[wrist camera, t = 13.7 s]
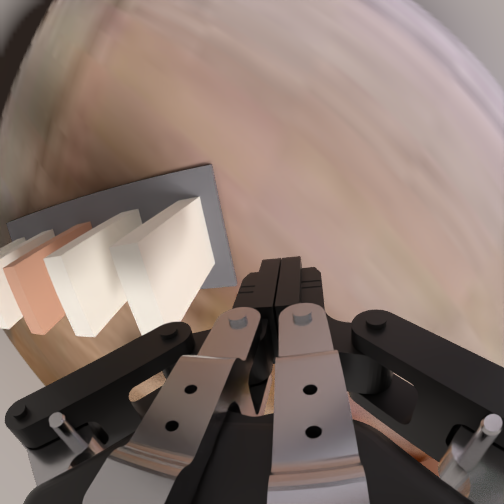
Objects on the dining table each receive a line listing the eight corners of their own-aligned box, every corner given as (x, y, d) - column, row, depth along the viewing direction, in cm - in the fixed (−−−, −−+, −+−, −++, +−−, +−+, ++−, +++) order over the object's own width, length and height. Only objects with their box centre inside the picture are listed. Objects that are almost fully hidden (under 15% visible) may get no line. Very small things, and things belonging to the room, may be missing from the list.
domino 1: (52, 228, 24) (-18, 270, 15) (69, 278, 25) (8, 329, 17) (42, 231, 24) (-26, 271, 16) (59, 279, 26) (0, 327, 17)
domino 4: (199, 196, 21) (137, 242, 12) (215, 263, 22) (170, 338, 14) (178, 200, 21) (108, 247, 13) (194, 265, 23) (143, 338, 14)
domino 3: (138, 208, 22) (60, 255, 13) (155, 269, 23) (95, 337, 15) (121, 212, 22) (43, 258, 14) (139, 271, 24) (76, 335, 15)
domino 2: (90, 221, 23) (13, 266, 14) (107, 275, 24) (44, 334, 16) (77, 224, 23) (2, 268, 15) (94, 277, 25) (31, 333, 16)
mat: (211, 164, 20) (210, 164, 20) (237, 283, 23) (236, 285, 23) (8, 222, 25) (6, 223, 24) (35, 296, 28) (33, 298, 28)
